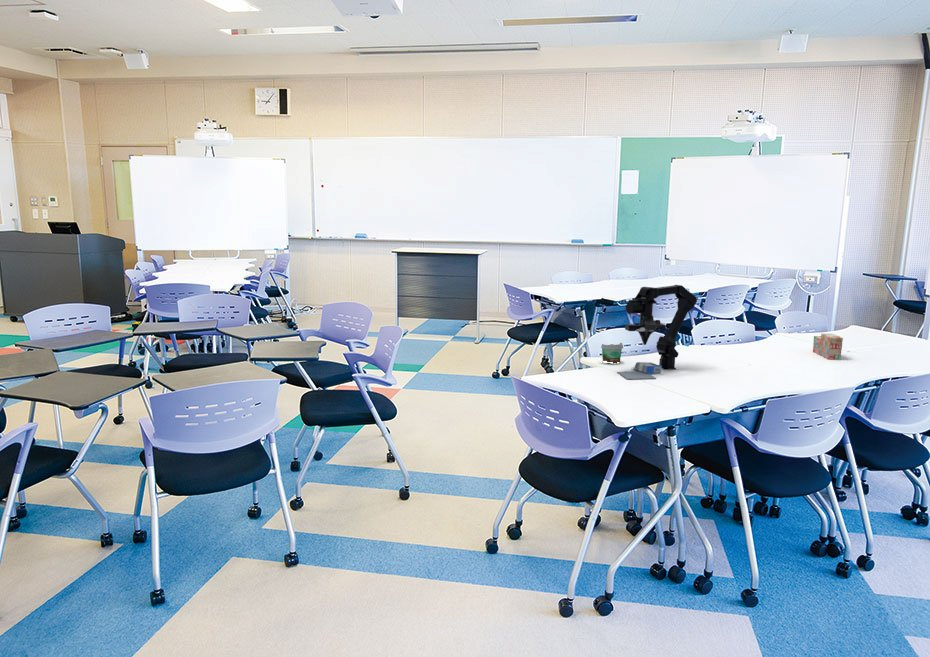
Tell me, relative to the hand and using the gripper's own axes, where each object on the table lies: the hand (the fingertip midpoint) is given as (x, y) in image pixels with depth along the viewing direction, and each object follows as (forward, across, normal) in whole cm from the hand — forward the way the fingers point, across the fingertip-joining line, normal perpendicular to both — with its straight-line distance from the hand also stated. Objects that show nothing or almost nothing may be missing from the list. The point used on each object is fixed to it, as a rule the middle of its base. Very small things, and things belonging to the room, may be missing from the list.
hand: (644, 344), depth 314 cm
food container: (+13, -9, +17) cm, 23 cm away
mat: (+13, -8, -10) cm, 18 cm away
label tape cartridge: (+11, +2, -8) cm, 13 cm away
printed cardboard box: (+14, +114, +24) cm, 117 cm away
